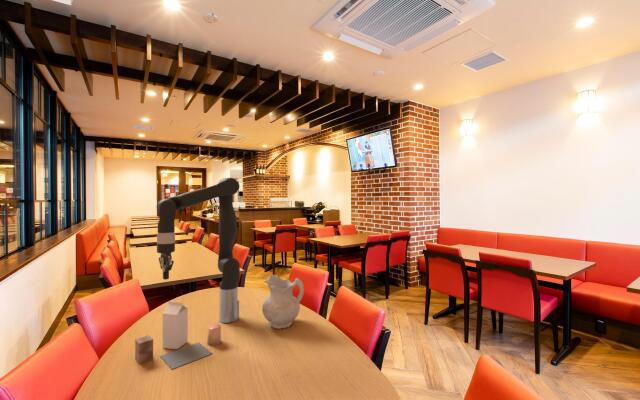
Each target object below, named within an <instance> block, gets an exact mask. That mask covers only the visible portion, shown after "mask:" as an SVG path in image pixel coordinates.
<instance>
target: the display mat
mask: <svg viewBox="0 0 640 400" xmlns="http://www.w3.org/2000/svg"><path fill="white" fill-rule="evenodd" d="M212 354H213V352H212V351H211V350H209V349H208V348H207V347H206V346H204V345H203V344H202V343H200V342H196V343H193V344H191V345H186V346H185V347H180V348H178V349H174V350H173V351H171V352H166V353H165V354H161V355H159V357H160V358H161V360H162V361H163V362H164V363H165V364H166V365H167V366H168V368H170V369H171V370H174V369H177V368H180V367H182V366H185V365H188V364H190V363H193V362H194V361H198V360H200V359H203V358H206V357H207V356H210V355H212Z"/></svg>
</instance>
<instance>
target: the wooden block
mask: <svg viewBox="0 0 640 400" xmlns="http://www.w3.org/2000/svg"><path fill="white" fill-rule="evenodd" d="M134 342H135V344H134V346H135V347H134V351H135V352H134V354H135V355H134V358H135V361H136V363H138V365H140V364H143V363H146V362H149V361H152V360H153V359H154V339H153V338H152V336H151V335H149V334H148V335H146V336H142V337H138V338H135V341H134Z"/></svg>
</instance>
